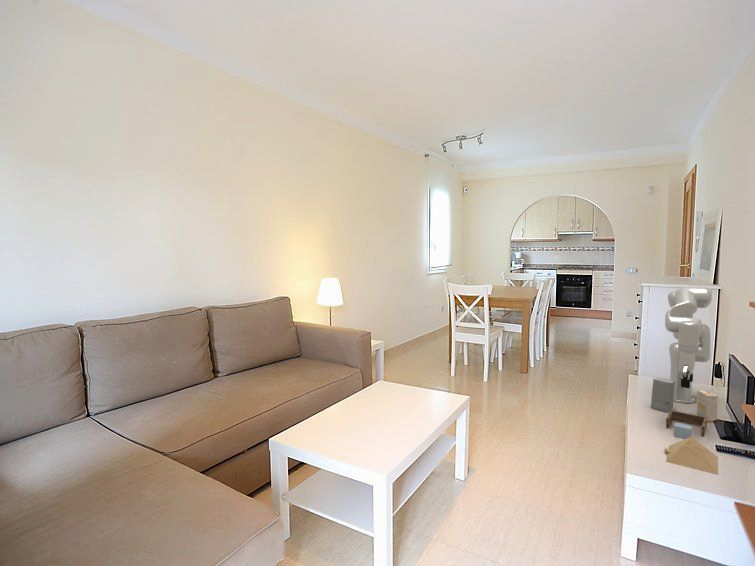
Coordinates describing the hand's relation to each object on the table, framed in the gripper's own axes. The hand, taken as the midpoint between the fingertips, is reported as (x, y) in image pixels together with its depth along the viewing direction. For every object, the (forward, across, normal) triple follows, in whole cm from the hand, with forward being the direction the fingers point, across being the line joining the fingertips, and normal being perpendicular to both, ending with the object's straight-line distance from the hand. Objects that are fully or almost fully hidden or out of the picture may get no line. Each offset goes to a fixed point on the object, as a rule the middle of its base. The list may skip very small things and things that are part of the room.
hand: (686, 384), depth 185 cm
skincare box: (+23, -20, -12) cm, 33 cm away
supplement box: (+23, -20, +6) cm, 30 cm away
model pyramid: (+21, +30, +5) cm, 37 cm away
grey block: (+22, +9, 0) cm, 23 cm away
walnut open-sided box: (+22, -2, 0) cm, 22 cm away
